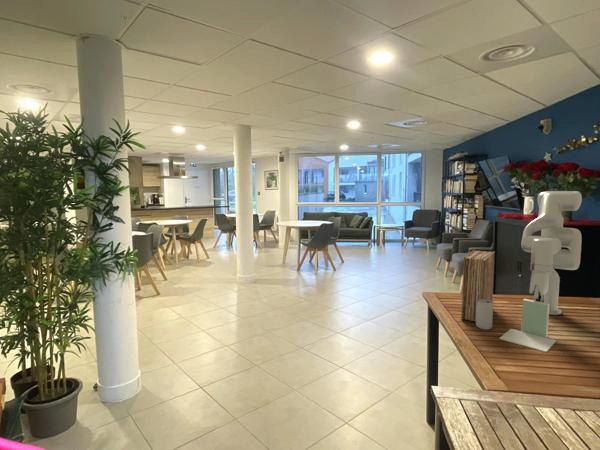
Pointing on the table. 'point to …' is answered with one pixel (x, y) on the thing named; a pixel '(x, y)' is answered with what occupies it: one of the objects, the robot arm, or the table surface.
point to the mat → (528, 340)
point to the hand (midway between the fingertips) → (538, 309)
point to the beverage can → (484, 314)
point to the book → (477, 281)
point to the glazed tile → (535, 317)
